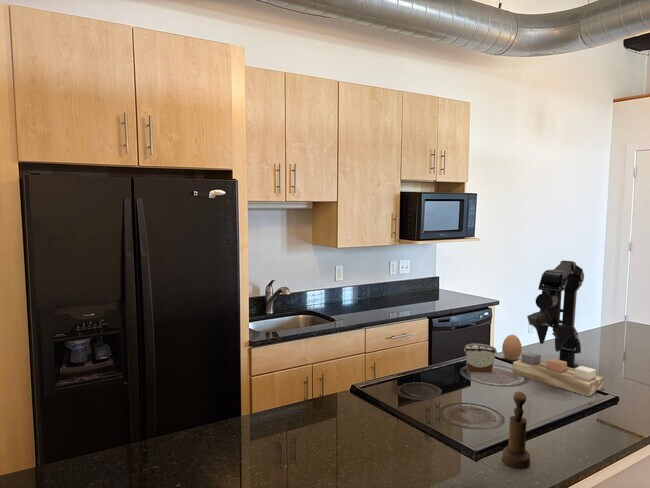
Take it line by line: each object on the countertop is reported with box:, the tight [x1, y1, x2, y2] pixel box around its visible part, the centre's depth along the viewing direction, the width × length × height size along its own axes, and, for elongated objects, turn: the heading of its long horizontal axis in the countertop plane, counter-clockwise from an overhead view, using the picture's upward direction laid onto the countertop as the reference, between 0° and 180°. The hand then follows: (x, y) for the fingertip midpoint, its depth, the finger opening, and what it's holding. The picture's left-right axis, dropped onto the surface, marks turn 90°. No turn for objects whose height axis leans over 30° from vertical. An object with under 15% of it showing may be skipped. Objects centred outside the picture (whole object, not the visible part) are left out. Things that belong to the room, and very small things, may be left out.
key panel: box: [511, 358, 605, 396], centre depth 181 cm, size 12×28×4 cm, turn 39°
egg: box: [501, 334, 523, 362], centre depth 204 cm, size 8×8×11 cm
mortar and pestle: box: [501, 391, 531, 469], centre depth 122 cm, size 7×6×18 cm
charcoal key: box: [521, 351, 542, 365], centre depth 188 cm, size 5×5×3 cm
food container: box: [463, 343, 498, 375], centre depth 190 cm, size 12×6×10 cm, turn 84°
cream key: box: [574, 365, 597, 381], centre depth 173 cm, size 5×5×3 cm
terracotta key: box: [547, 358, 567, 372], centre depth 180 cm, size 5×5×3 cm
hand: (549, 347), depth 178 cm, fingers open, 9 cm apart
